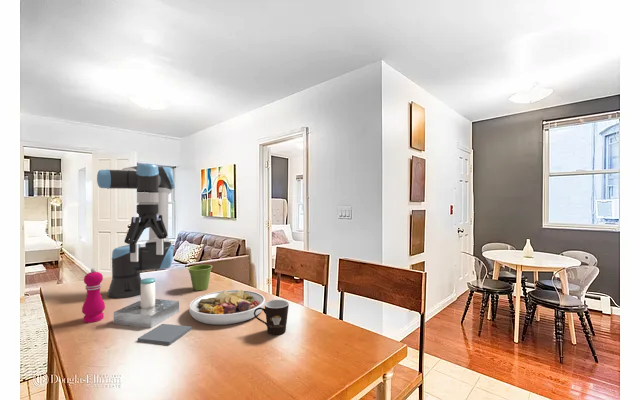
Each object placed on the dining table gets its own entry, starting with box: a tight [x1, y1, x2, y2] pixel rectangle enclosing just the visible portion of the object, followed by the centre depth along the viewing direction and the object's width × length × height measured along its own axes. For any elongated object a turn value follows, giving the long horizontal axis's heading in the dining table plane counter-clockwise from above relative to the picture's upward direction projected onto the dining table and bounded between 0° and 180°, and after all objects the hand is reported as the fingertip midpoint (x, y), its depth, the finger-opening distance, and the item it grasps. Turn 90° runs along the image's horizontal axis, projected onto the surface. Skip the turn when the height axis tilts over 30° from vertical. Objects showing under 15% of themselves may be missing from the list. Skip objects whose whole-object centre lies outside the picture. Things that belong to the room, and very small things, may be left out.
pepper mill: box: [81, 267, 106, 324], centre depth 121 cm, size 7×7×20 cm
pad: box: [137, 323, 193, 346], centre depth 109 cm, size 12×12×1 cm
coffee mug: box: [254, 299, 290, 336], centre depth 113 cm, size 12×9×10 cm
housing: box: [113, 298, 180, 329], centre depth 124 cm, size 16×16×4 cm
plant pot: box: [187, 264, 213, 292], centre depth 161 cm, size 12×12×11 cm
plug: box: [140, 277, 156, 309], centre depth 124 cm, size 5×5×15 cm
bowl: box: [188, 289, 266, 326], centre depth 130 cm, size 30×30×8 cm
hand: (147, 257), depth 123 cm, fingers open, 13 cm apart
